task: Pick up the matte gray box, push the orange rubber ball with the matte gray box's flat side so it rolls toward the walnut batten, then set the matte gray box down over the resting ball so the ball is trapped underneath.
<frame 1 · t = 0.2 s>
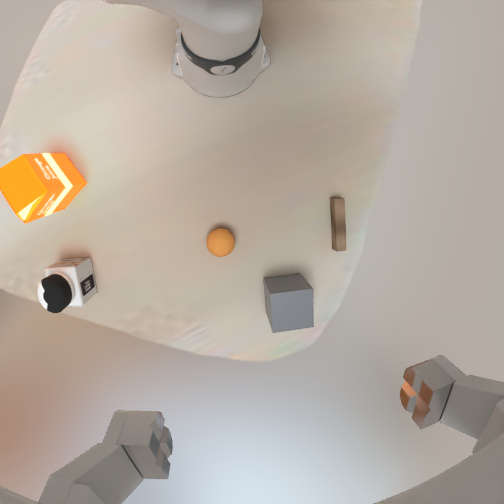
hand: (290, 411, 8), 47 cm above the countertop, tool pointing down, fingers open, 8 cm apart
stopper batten: (336, 223, 56), on the countertop
ball: (220, 242, 52), on the countertop
orange juice: (64, 180, 49), on the countertop
container: (79, 275, 54), on the countertop
matte gray box: (283, 293, 58), on the countertop
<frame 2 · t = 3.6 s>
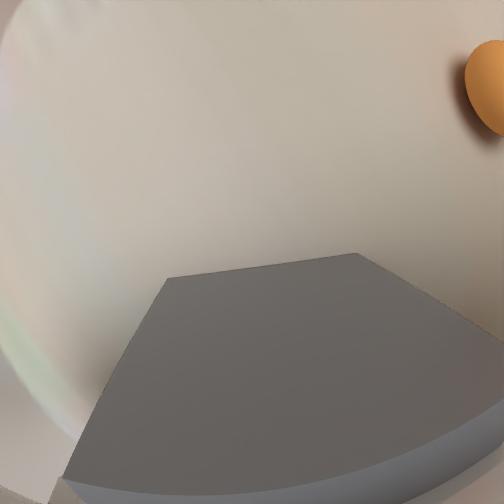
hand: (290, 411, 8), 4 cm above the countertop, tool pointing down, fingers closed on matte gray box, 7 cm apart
matte gray box: (273, 350, 12), on the countertop, touching gripper
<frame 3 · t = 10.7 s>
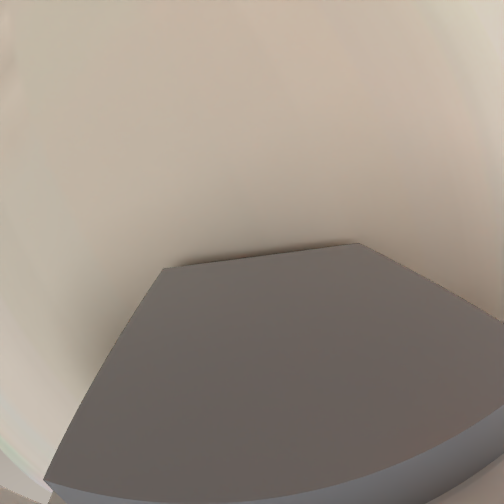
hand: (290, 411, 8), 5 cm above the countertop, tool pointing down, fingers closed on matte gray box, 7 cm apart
matte gray box: (273, 343, 11), point 2 cm above the countertop, touching gripper
when the fingers open (4 cm above the countertop, at t = 17.9 s): matte gray box stays where it is, on the countertop.
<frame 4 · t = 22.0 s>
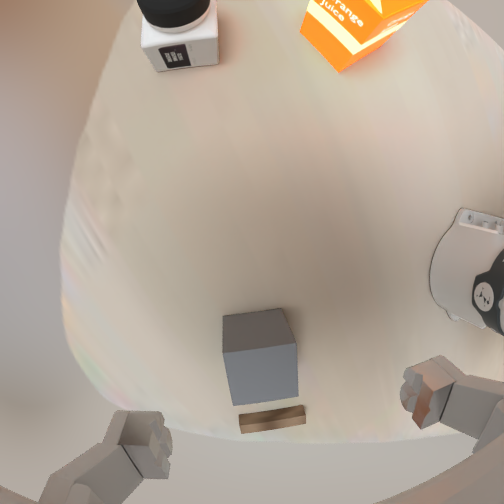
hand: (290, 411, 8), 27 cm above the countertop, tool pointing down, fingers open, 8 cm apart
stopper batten: (271, 414, 41), on the countertop
orange juice: (340, 39, 30), on the countertop
container: (186, 43, 29), on the countertop
matte gray box: (255, 337, 37), on the countertop
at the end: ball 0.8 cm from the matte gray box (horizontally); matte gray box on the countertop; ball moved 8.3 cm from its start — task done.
